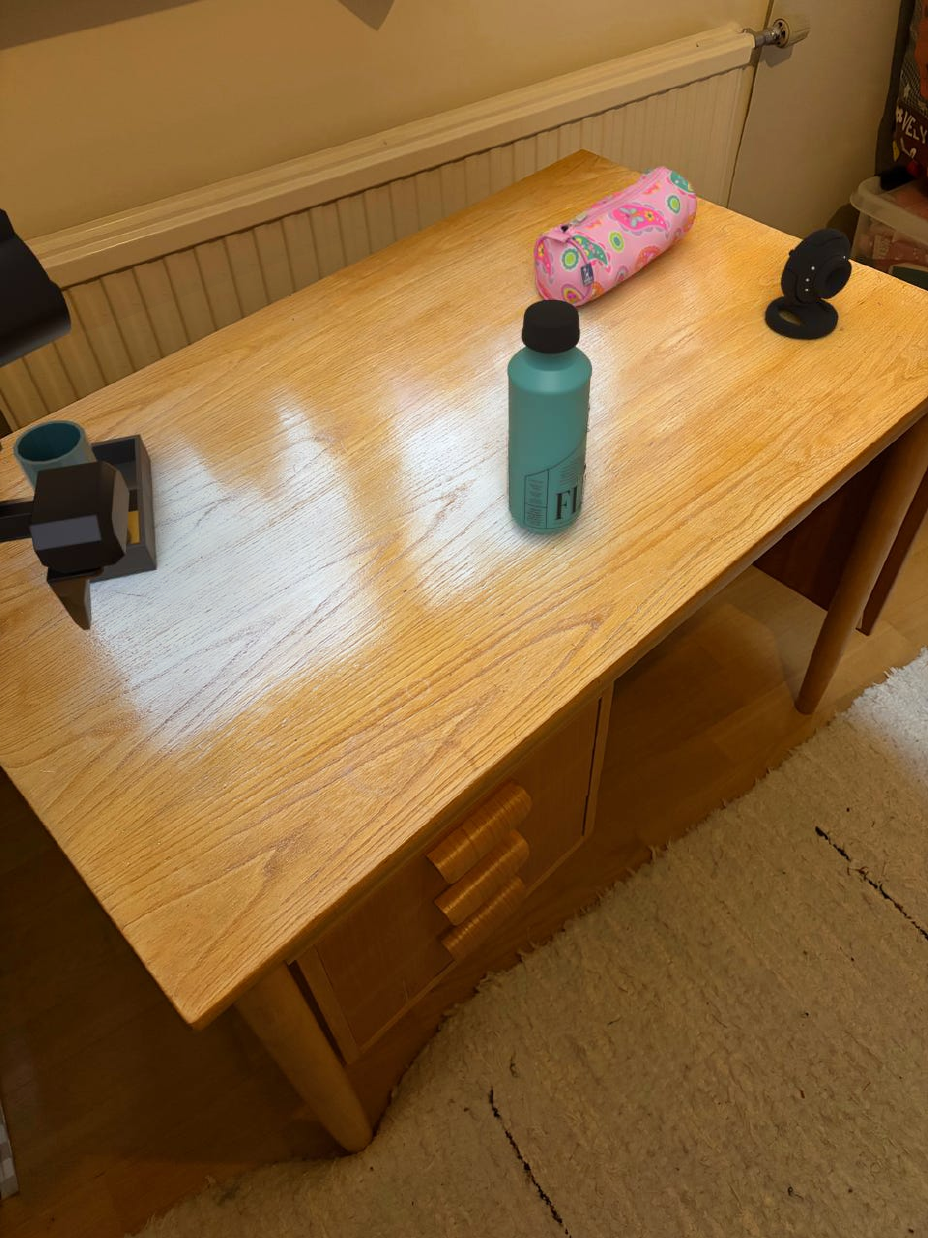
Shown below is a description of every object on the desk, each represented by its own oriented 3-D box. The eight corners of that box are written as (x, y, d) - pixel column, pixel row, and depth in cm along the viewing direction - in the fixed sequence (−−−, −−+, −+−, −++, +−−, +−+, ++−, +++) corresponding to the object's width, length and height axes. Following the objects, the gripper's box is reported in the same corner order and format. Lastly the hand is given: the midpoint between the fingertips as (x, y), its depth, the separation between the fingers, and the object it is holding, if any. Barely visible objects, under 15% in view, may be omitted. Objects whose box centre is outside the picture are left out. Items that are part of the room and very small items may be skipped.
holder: (156, 569, 74) (145, 544, 72) (61, 589, 73) (47, 564, 71) (150, 458, 83) (140, 433, 81) (65, 475, 82) (53, 450, 80)
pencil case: (583, 325, 95) (589, 245, 88) (520, 296, 100) (521, 217, 93) (697, 250, 105) (710, 173, 98) (635, 227, 109) (644, 151, 102)
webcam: (795, 349, 91) (822, 256, 83) (748, 315, 95) (769, 225, 88) (852, 327, 93) (883, 235, 86) (804, 296, 98) (829, 205, 90)
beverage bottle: (555, 559, 73) (567, 348, 58) (490, 527, 76) (486, 317, 60) (596, 515, 76) (618, 303, 61) (533, 486, 79) (539, 277, 64)
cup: (55, 556, 74) (-3, 454, 66) (95, 516, 77) (45, 413, 69) (105, 573, 73) (53, 471, 64) (144, 531, 76) (99, 428, 68)
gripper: (82, 308, 47) (169, 521, 59) (-291, 359, 45) (-123, 569, 57) (63, 436, 40) (166, 649, 52) (-381, 504, 38) (-167, 708, 50)
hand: (9, 637), depth 53 cm, fingers open, 9 cm apart
